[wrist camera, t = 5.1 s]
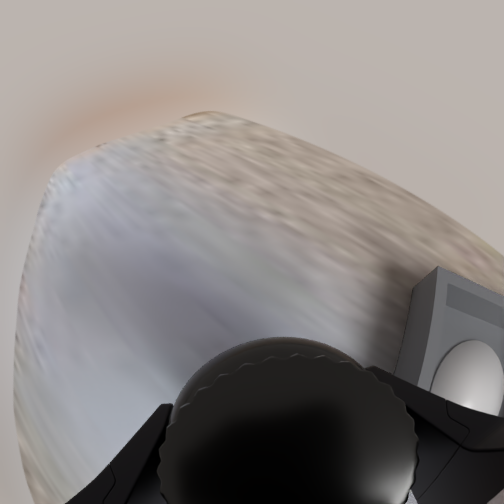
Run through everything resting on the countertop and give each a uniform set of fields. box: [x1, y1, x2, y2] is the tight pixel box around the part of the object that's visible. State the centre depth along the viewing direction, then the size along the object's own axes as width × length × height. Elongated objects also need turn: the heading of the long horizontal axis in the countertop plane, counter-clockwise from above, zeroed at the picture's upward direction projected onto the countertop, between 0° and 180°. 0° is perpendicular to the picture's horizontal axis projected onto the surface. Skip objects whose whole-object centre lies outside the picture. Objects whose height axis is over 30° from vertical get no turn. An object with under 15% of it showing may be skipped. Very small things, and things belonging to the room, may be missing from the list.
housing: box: [394, 266, 504, 492], centre depth 13 cm, size 15×15×4 cm
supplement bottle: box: [157, 337, 420, 504], centre depth 9 cm, size 7×7×12 cm
